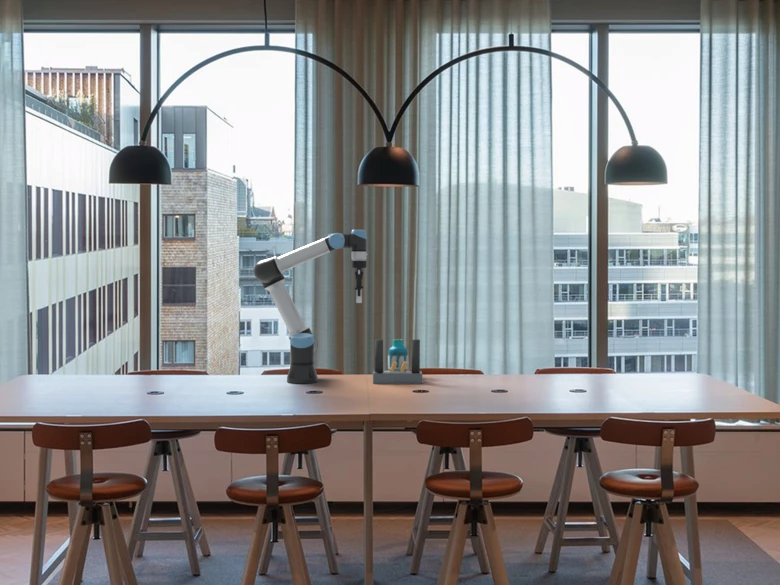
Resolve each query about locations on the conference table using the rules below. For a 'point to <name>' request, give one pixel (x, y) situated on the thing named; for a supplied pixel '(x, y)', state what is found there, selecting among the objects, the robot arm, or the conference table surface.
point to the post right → (415, 356)
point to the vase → (397, 355)
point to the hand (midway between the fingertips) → (359, 302)
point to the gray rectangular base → (397, 377)
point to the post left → (378, 356)
